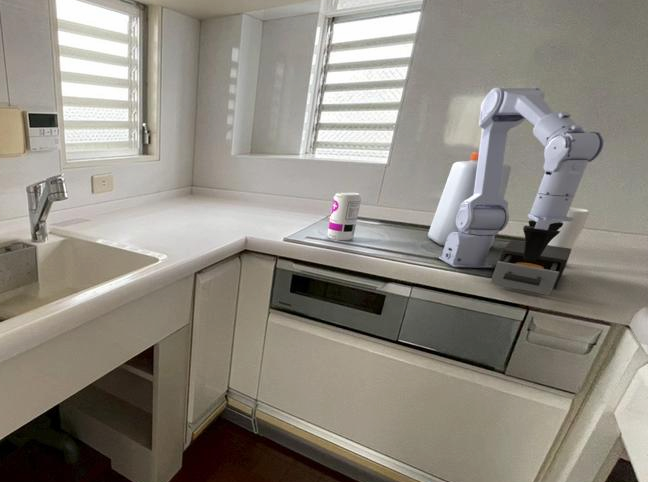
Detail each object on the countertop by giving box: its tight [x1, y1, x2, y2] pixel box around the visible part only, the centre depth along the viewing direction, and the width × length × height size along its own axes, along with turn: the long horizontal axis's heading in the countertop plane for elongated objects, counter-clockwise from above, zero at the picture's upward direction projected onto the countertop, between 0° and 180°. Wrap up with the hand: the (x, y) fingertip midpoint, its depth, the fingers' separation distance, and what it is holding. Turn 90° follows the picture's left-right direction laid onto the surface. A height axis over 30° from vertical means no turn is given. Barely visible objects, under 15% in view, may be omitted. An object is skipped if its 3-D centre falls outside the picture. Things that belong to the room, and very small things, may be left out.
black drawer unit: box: [498, 239, 572, 290], centre depth 101 cm, size 14×12×7 cm
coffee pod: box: [515, 262, 544, 269], centre depth 94 cm, size 5×5×3 cm
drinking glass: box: [548, 207, 590, 250], centre depth 109 cm, size 7×7×15 cm
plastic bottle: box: [427, 151, 512, 248], centre depth 126 cm, size 15×15×28 cm
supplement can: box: [327, 191, 362, 241], centre depth 135 cm, size 8×8×15 cm
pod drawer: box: [490, 254, 559, 296], centre depth 93 cm, size 17×10×5 cm, turn 133°
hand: (532, 256), depth 89 cm, fingers open, 7 cm apart
